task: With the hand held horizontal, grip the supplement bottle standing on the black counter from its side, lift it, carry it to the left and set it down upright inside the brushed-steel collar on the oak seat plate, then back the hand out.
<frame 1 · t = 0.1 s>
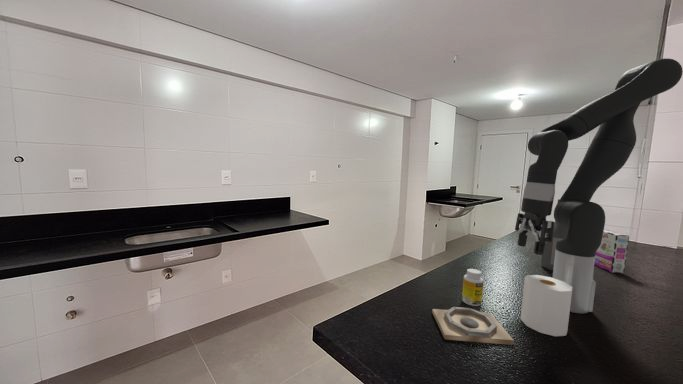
hand: (529, 249, 83), 17 cm above the counter, tool pointing down, fingers open, 8 cm apart
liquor: (555, 269, 116), on the counter
supplement bottle: (471, 303, 84), on the counter
seat plate: (469, 327, 71), on the counter
candy bar box: (607, 269, 118), on the counter
toilet paper: (543, 325, 73), on the counter
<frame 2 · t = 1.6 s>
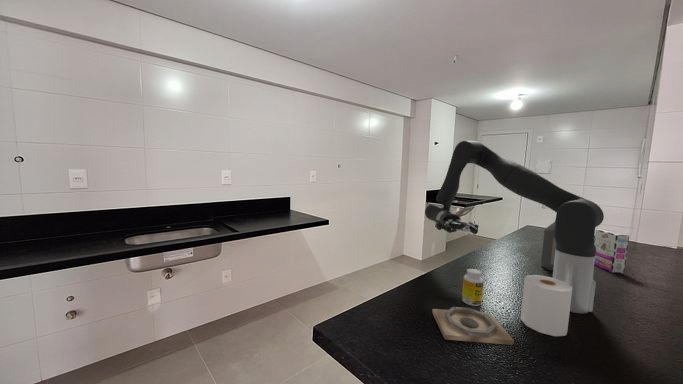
hand: (463, 230, 93), 20 cm above the counter, tool horizontal, fingers open, 8 cm apart
nothing on the counter moved.
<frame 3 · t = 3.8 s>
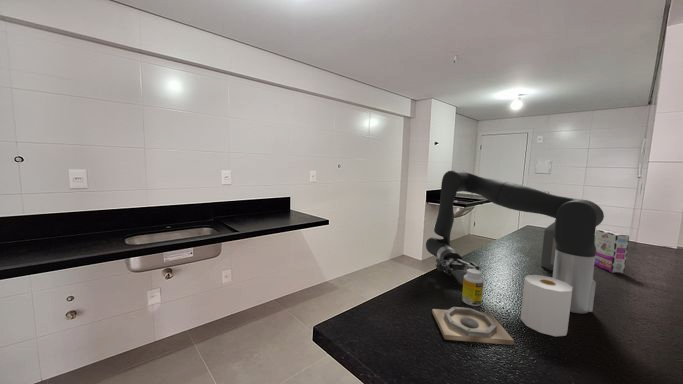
hand: (463, 273, 91), 6 cm above the counter, tool horizontal, fingers open, 8 cm apart
nothing on the counter moved.
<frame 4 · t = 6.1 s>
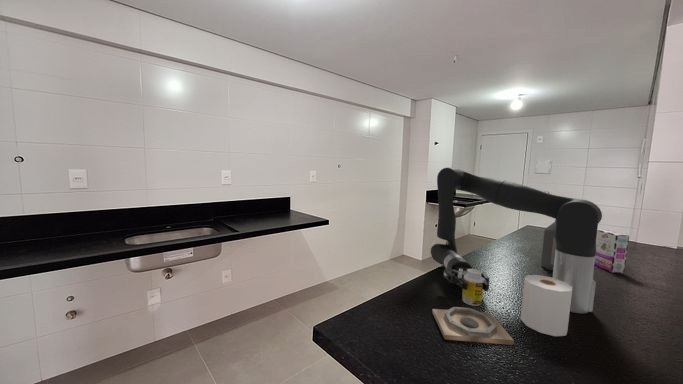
hand: (476, 287, 81), 6 cm above the counter, tool horizontal, fingers closed on supplement bottle, 5 cm apart
supplement bottle: (471, 302, 84), on the counter, touching gripper
everything else where it was.
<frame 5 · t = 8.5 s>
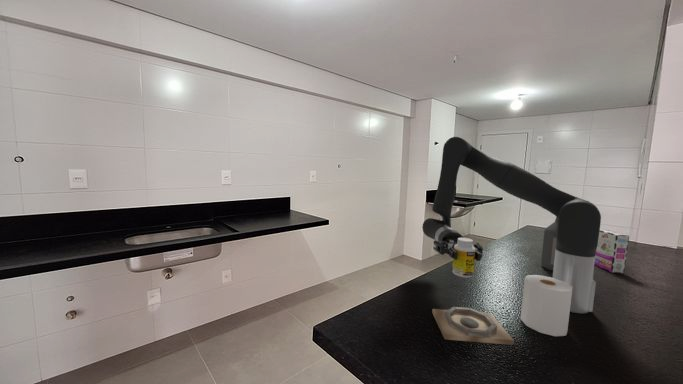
hand: (467, 256, 73), 18 cm above the counter, tool horizontal, fingers closed on supplement bottle, 5 cm apart
supplement bottle: (462, 275, 76), point 11 cm above the counter, touching gripper
everything else where it was.
when the fingers open (8 cm above the counter, at t = 11.3 s): supplement bottle stays where it is, resting on seat plate.
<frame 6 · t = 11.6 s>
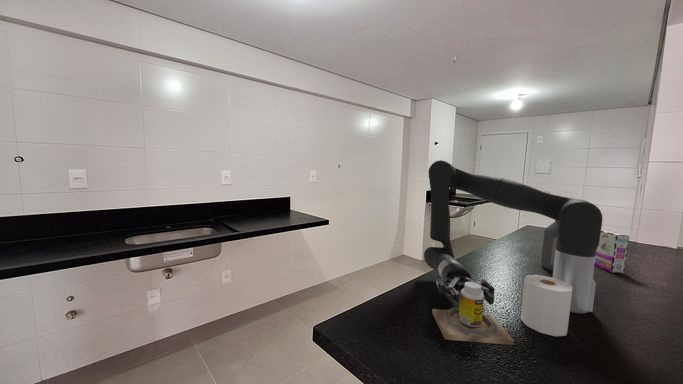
hand: (474, 299, 68), 9 cm above the counter, tool horizontal, fingers open, 8 cm apart
supplement bottle: (469, 322, 71), point 1 cm above the counter, touching seat plate
everything else where it was.
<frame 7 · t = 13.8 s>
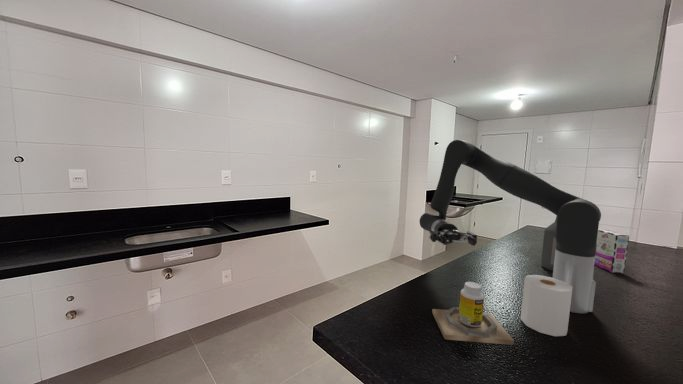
hand: (459, 242, 83), 19 cm above the counter, tool horizontal, fingers open, 8 cm apart
nothing on the counter moved.
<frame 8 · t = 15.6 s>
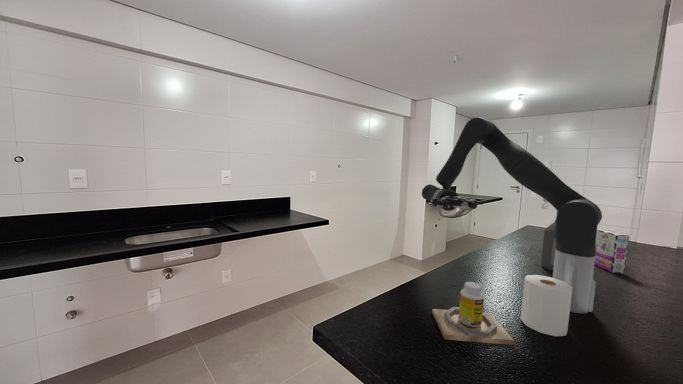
hand: (460, 205, 85), 30 cm above the counter, tool horizontal, fingers open, 8 cm apart
nothing on the counter moved.
at the end: supplement bottle 0.2 cm from the seat plate (horizontally); supplement bottle tilted 0°; the gripper is holding nothing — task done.
